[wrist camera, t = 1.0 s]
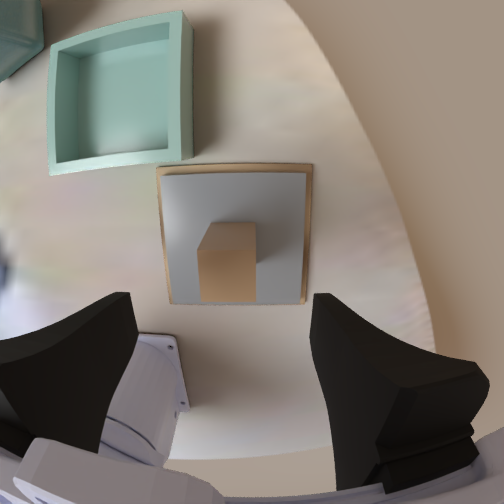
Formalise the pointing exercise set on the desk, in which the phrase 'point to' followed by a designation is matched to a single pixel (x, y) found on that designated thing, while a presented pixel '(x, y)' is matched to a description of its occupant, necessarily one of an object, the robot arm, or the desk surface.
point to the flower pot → (19, 34)
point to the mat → (242, 168)
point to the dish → (121, 95)
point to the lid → (234, 237)
